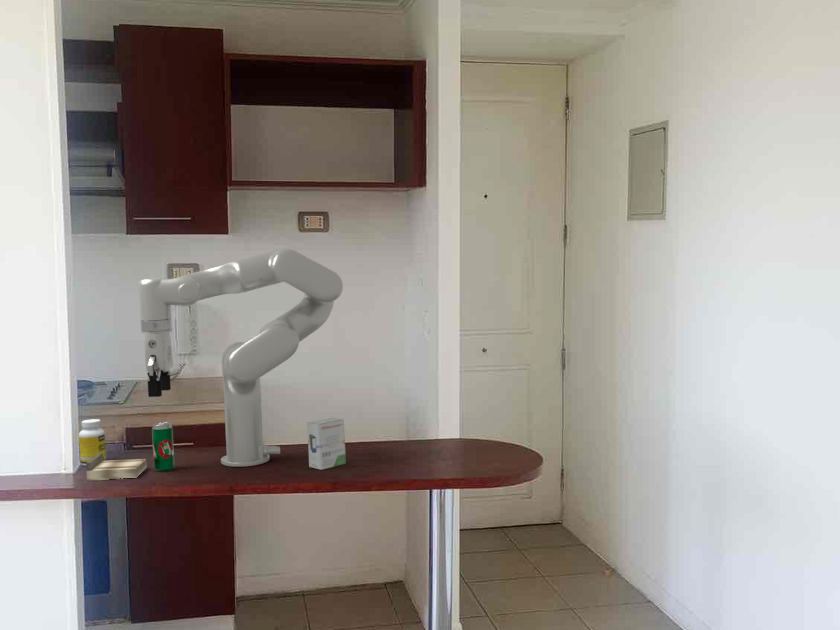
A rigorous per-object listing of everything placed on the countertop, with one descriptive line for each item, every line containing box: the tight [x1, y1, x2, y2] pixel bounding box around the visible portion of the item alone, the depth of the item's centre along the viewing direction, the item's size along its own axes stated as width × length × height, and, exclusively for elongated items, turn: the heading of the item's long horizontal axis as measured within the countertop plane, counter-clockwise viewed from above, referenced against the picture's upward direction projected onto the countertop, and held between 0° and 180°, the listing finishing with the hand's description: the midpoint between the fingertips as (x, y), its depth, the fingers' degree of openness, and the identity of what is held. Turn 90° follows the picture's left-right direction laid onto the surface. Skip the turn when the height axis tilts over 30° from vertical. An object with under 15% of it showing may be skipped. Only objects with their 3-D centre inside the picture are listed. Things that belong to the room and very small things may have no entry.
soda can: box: [151, 421, 175, 472], centre depth 225 cm, size 5×5×12 cm
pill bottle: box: [78, 418, 107, 466], centre depth 234 cm, size 6×6×12 cm
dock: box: [86, 453, 148, 482], centre depth 222 cm, size 12×10×4 cm
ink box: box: [306, 417, 347, 471], centre depth 225 cm, size 9×5×12 cm, turn 134°
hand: (159, 393), depth 224 cm, fingers open, 9 cm apart
